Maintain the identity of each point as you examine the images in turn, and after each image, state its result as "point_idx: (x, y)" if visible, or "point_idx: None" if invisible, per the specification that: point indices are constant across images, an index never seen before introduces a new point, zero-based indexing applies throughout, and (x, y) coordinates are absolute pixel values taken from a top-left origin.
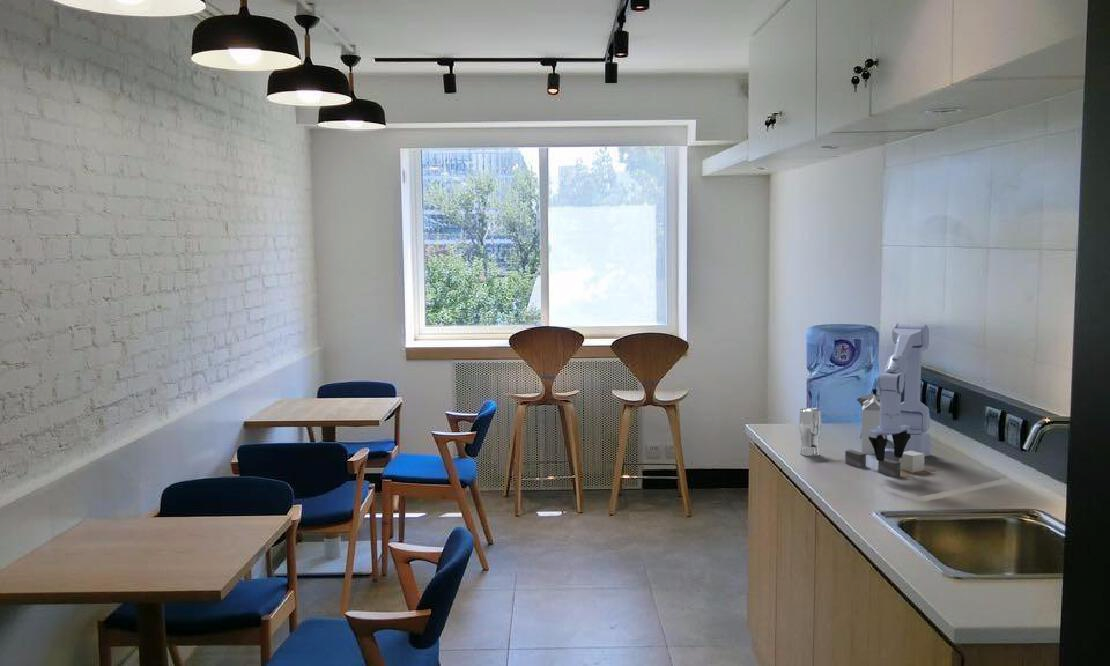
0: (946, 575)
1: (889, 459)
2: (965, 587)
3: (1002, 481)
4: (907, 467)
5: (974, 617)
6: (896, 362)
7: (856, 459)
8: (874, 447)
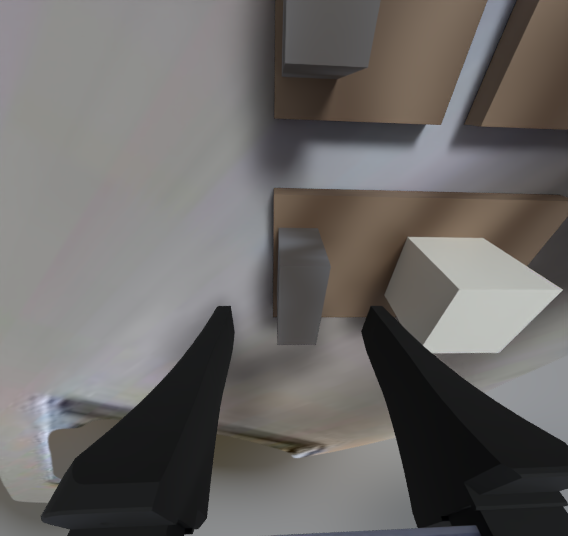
0: (51, 481)
1: (324, 297)
2: (56, 488)
3: (474, 384)
4: (399, 285)
5: (34, 499)
6: None
7: (284, 7)
8: (173, 380)
